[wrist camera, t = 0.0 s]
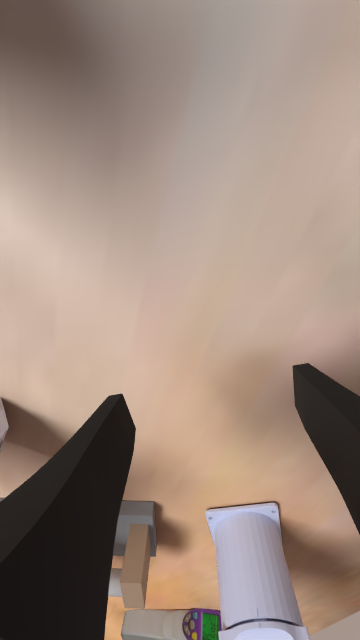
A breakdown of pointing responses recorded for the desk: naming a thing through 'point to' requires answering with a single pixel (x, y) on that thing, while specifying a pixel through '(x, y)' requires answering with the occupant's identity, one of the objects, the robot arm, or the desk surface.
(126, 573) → the pipe stand
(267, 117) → the desk surface
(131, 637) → the infrared thermometer
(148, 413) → the desk surface
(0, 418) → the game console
